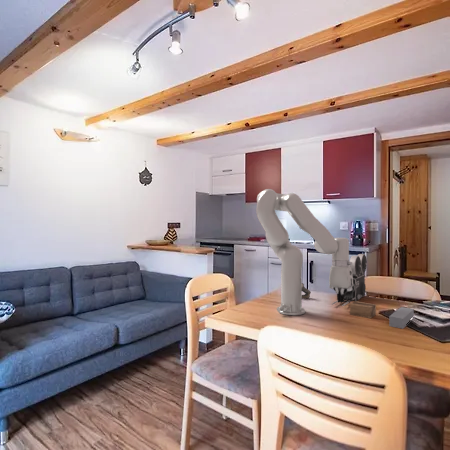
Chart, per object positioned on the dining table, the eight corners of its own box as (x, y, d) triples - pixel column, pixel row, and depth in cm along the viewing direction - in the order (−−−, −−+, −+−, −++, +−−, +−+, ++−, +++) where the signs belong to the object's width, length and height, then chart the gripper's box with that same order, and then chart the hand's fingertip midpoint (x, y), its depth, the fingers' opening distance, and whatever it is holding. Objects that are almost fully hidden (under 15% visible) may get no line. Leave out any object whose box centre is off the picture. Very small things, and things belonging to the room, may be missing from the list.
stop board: (403, 328, 126) (403, 318, 126) (389, 326, 129) (389, 316, 129) (413, 318, 139) (413, 309, 139) (401, 315, 142) (401, 307, 142)
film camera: (350, 291, 191) (350, 252, 191) (371, 294, 184) (371, 253, 183) (324, 306, 160) (323, 258, 160) (348, 310, 153) (347, 260, 152)
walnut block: (370, 319, 139) (370, 307, 139) (350, 314, 145) (349, 304, 145) (375, 315, 144) (375, 304, 144) (355, 311, 150) (355, 301, 150)
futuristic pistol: (287, 306, 179) (279, 290, 179) (312, 295, 177) (303, 278, 177) (288, 307, 176) (279, 291, 177) (312, 296, 174) (304, 279, 175)
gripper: (359, 264, 149) (359, 302, 149) (328, 261, 159) (329, 298, 159) (353, 265, 144) (353, 306, 144) (322, 263, 154) (322, 301, 154)
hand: (340, 301), depth 152 cm, fingers closed
